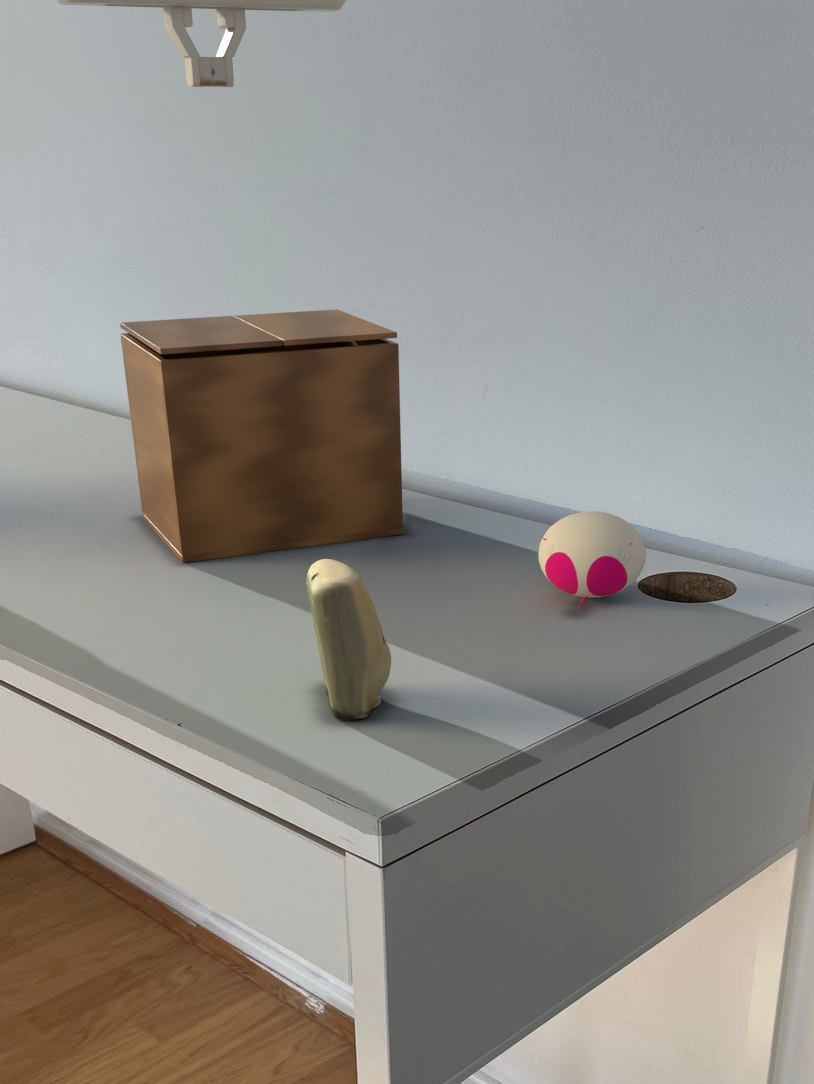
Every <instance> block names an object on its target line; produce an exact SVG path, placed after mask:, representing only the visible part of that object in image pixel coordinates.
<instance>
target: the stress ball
mask: <svg viewBox="0 0 814 1084" xmlns="http://www.w3.org/2000/svg"><path fill="white" fill-rule="evenodd" d="M646 555H647V553H646V547H645V543H644V540H643V538H642V536H641V534H640V533H639V531H638V530H637V529H636V528H635V527H634V526H633V525H632V524H631V523H629V521H627V520H625V519H624V518H622V517H620V516H618V515H615V514H613V513H609V512H604V511H596V510H595V511H594V510H592V511H591V510H590V511H589V510H588V511H580V512H576V513H575V512H574V513H573V514H569V515H567V516H565V517H562V518H561V519H559V520H558V521H556V522H555V523H554V524H552V525H551V526H550V527H549V528H548V529H547V531H545V533H544V535H543V536H541V541H540V543H539V547H538V563H539V566H540V569H541V571H542V573H543V574H544V576H545V577H546V579H547V580H548V581H549V582H550V583H551V584H552V585H553V586H554V587H556V588H557V589H558V590H560V591H562V592H564V593H567V594H568V595H572V596H575V597H580V598H582V600H581V602H580V603H579V605H578V607H577V609H580V607H582V605H583V604H584V603H585V602H586V601H587V600H588V599H597V598H604V597H609V596H613V595H615V594H618V593H620V592H622V591H624V590H625V589H627V588H628V587H630V586H631V585H632V584H634V582H636V581H637V579H638V578H639V577H640V575H641V573H642V571H643V569H644V566H645V563H646V559H647V558H646Z"/></svg>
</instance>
